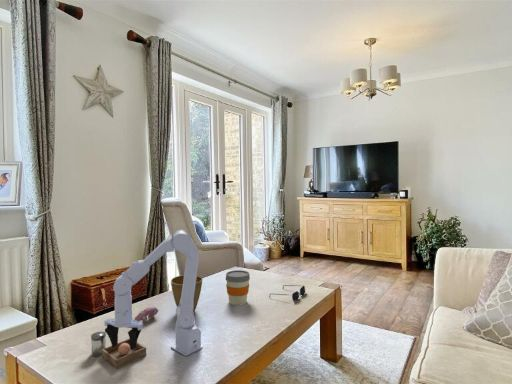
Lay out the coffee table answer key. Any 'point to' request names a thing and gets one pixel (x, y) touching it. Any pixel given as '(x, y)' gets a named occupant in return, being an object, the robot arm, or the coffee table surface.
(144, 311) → the video game controller
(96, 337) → the shaker
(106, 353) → the tray
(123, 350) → the ball
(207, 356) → the coffee table surface
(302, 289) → the sunglasses
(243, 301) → the reusable coffee cup
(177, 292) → the plant pot
